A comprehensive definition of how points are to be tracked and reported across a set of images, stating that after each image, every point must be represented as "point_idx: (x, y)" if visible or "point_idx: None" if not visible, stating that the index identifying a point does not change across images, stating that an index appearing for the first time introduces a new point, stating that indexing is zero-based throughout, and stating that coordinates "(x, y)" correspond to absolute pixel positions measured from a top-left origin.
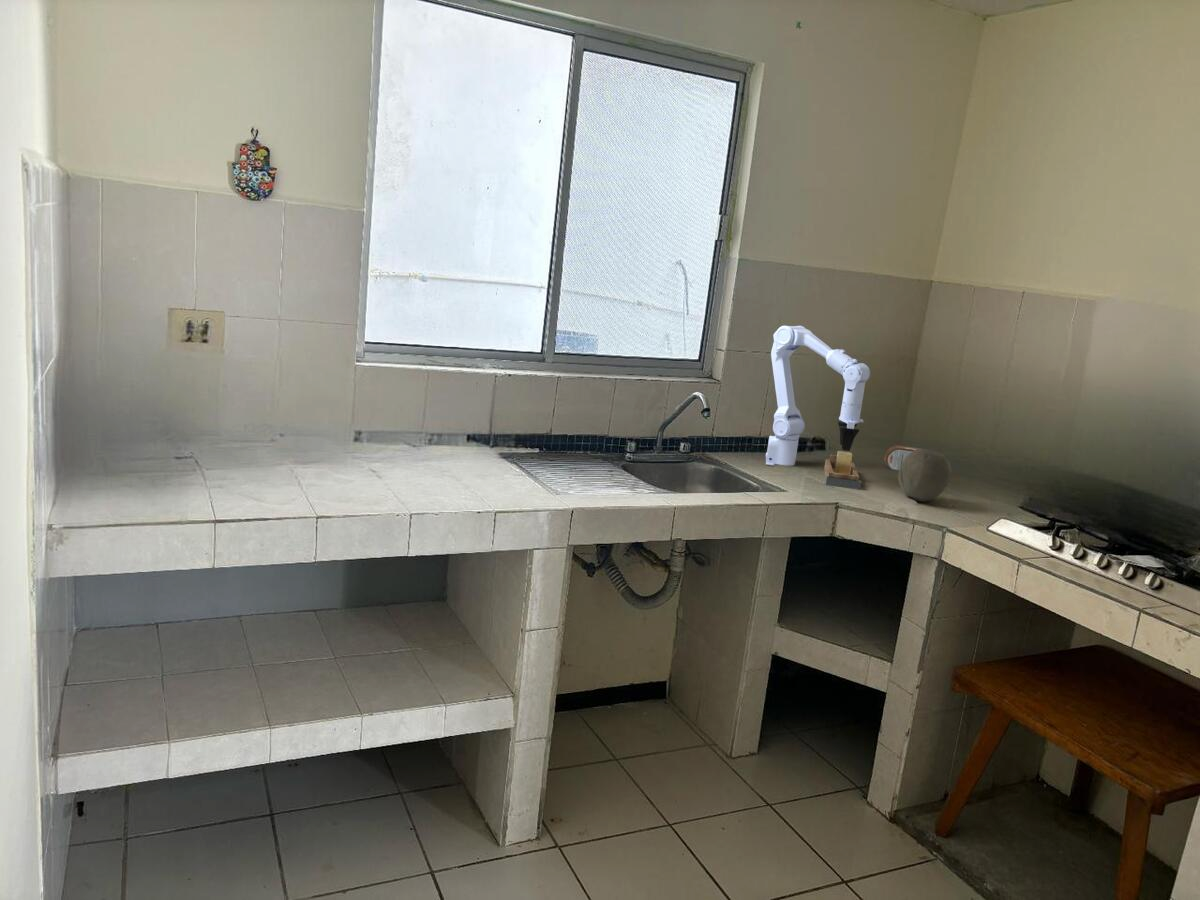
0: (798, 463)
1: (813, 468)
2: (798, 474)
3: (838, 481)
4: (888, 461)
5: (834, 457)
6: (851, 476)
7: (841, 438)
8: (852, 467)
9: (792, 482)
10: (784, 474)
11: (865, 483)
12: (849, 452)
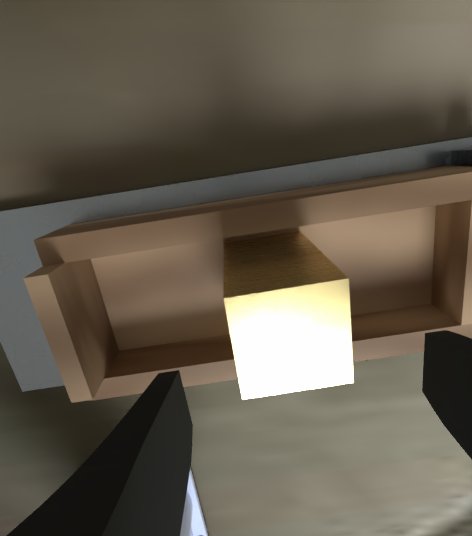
0: (55, 460)
1: None
2: (280, 432)
3: None
4: None
5: (88, 368)
6: None
7: (182, 493)
8: (224, 233)
9: (444, 430)
10: (320, 471)
11: (237, 127)
12: (231, 311)
